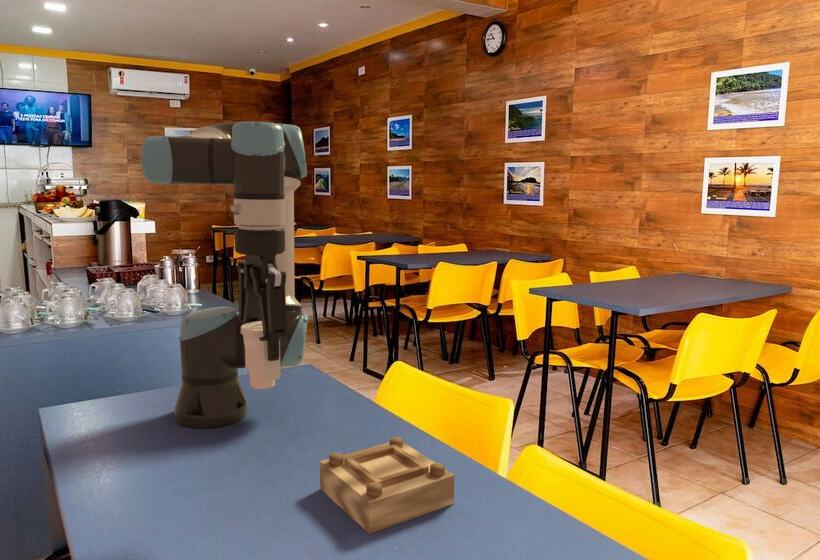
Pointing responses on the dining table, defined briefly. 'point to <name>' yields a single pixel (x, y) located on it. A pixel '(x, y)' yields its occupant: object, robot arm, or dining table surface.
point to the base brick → (386, 484)
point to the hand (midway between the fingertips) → (262, 373)
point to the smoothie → (254, 354)
